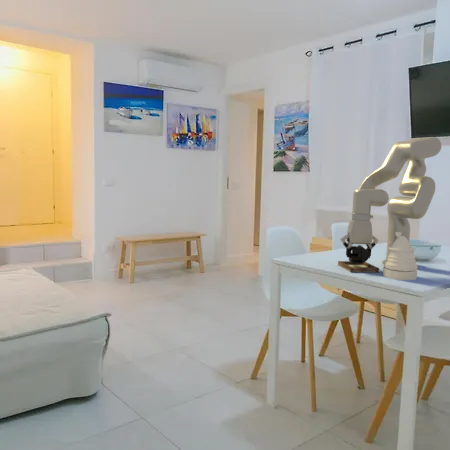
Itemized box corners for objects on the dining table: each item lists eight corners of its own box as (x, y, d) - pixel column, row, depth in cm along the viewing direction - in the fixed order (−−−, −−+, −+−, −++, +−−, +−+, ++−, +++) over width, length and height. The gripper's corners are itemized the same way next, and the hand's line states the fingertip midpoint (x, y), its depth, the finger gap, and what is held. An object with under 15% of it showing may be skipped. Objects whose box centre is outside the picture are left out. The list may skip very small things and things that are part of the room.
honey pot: (376, 275, 183) (379, 231, 181) (394, 272, 190) (397, 230, 188) (404, 281, 172) (407, 235, 170) (423, 278, 180) (426, 234, 178)
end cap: (368, 264, 189) (369, 248, 188) (351, 263, 190) (352, 247, 189) (364, 260, 199) (365, 245, 198) (348, 259, 200) (348, 244, 199)
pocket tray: (364, 265, 203) (364, 261, 203) (378, 272, 188) (379, 268, 188) (337, 264, 202) (338, 261, 202) (350, 272, 187) (350, 268, 187)
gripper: (376, 217, 197) (373, 256, 199) (338, 216, 195) (336, 255, 197) (384, 219, 190) (381, 259, 192) (344, 218, 188) (342, 258, 190)
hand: (358, 257), depth 194 cm, fingers closed on end cap, 8 cm apart
